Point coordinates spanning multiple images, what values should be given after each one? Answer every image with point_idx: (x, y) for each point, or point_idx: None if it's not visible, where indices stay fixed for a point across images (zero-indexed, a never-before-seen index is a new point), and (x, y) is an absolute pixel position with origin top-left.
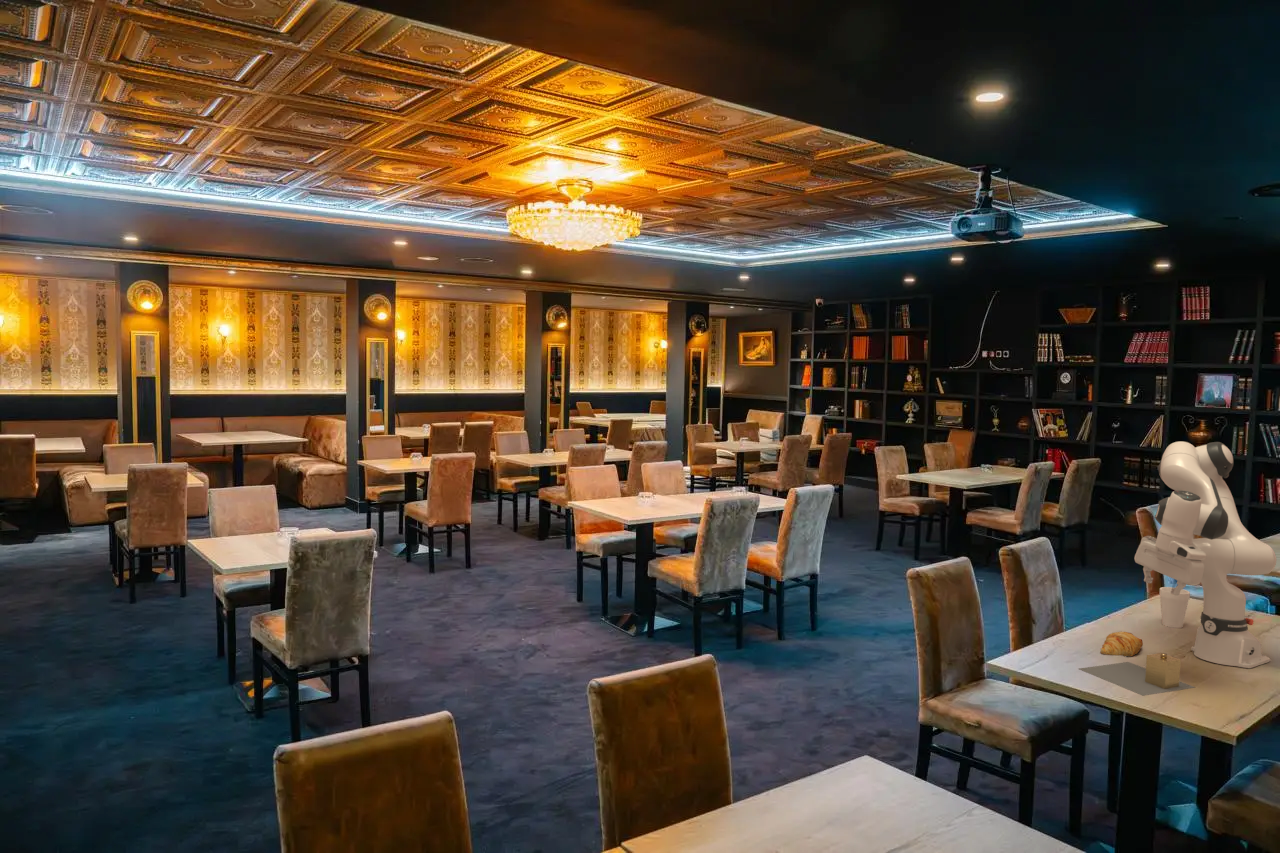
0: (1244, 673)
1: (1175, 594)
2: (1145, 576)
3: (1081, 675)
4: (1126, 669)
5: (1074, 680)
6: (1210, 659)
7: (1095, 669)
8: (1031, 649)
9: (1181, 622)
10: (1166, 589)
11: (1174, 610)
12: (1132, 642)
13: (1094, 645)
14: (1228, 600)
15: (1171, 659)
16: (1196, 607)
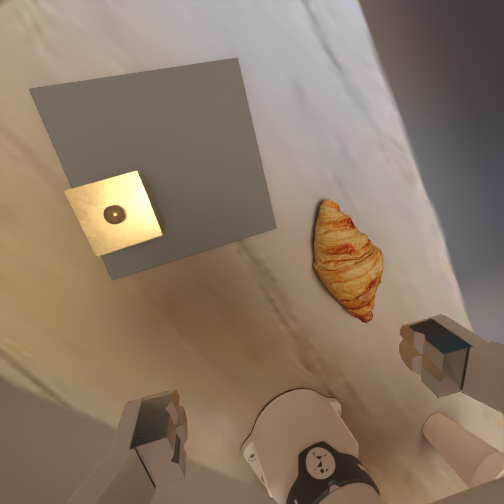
0: (218, 429)
1: (128, 408)
2: (477, 341)
3: (207, 47)
4: (229, 189)
5: None
6: (277, 402)
7: (231, 105)
8: (375, 57)
9: (430, 440)
10: None
11: (454, 448)
12: (335, 276)
13: (376, 229)
14: None
15: (93, 226)
16: None
